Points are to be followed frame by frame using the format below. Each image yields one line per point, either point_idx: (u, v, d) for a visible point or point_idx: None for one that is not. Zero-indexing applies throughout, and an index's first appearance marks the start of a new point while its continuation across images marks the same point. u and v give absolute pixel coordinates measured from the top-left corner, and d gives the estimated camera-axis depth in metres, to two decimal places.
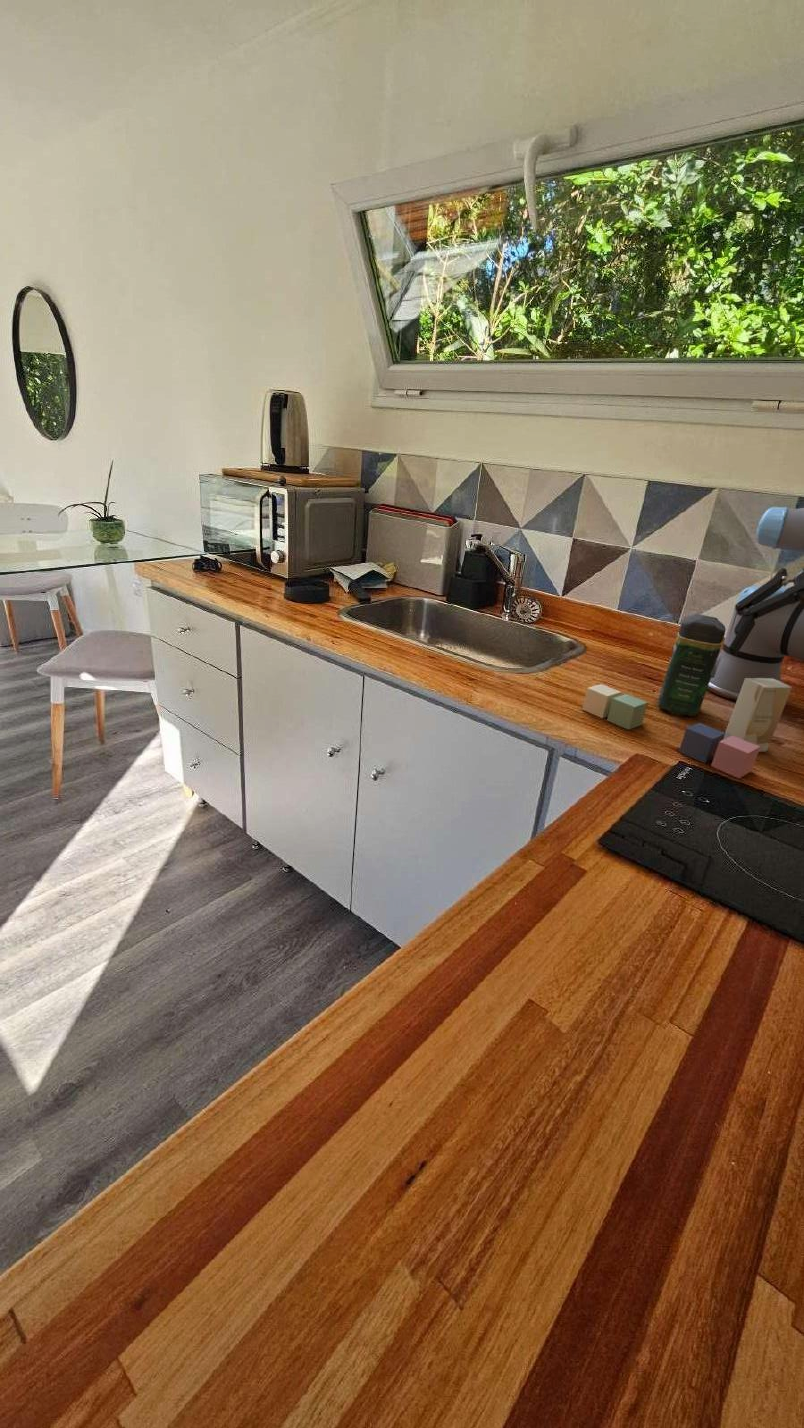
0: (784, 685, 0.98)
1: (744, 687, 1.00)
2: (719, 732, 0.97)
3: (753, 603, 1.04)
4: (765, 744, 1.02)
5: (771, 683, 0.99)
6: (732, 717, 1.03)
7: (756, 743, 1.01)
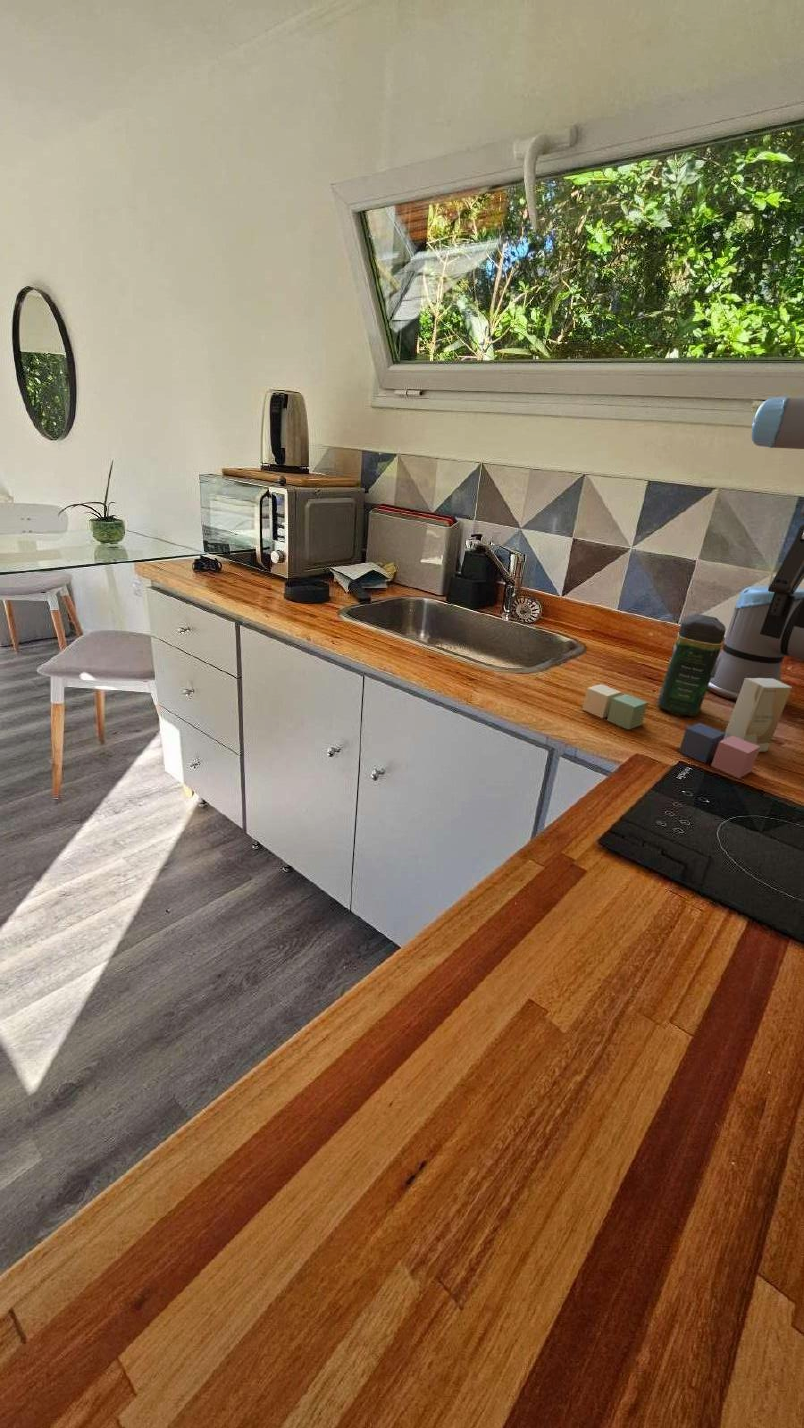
0: (784, 685, 0.98)
1: (744, 687, 1.00)
2: (719, 732, 0.97)
3: None
4: (765, 744, 1.02)
5: (771, 683, 0.99)
6: (732, 717, 1.03)
7: (756, 743, 1.01)
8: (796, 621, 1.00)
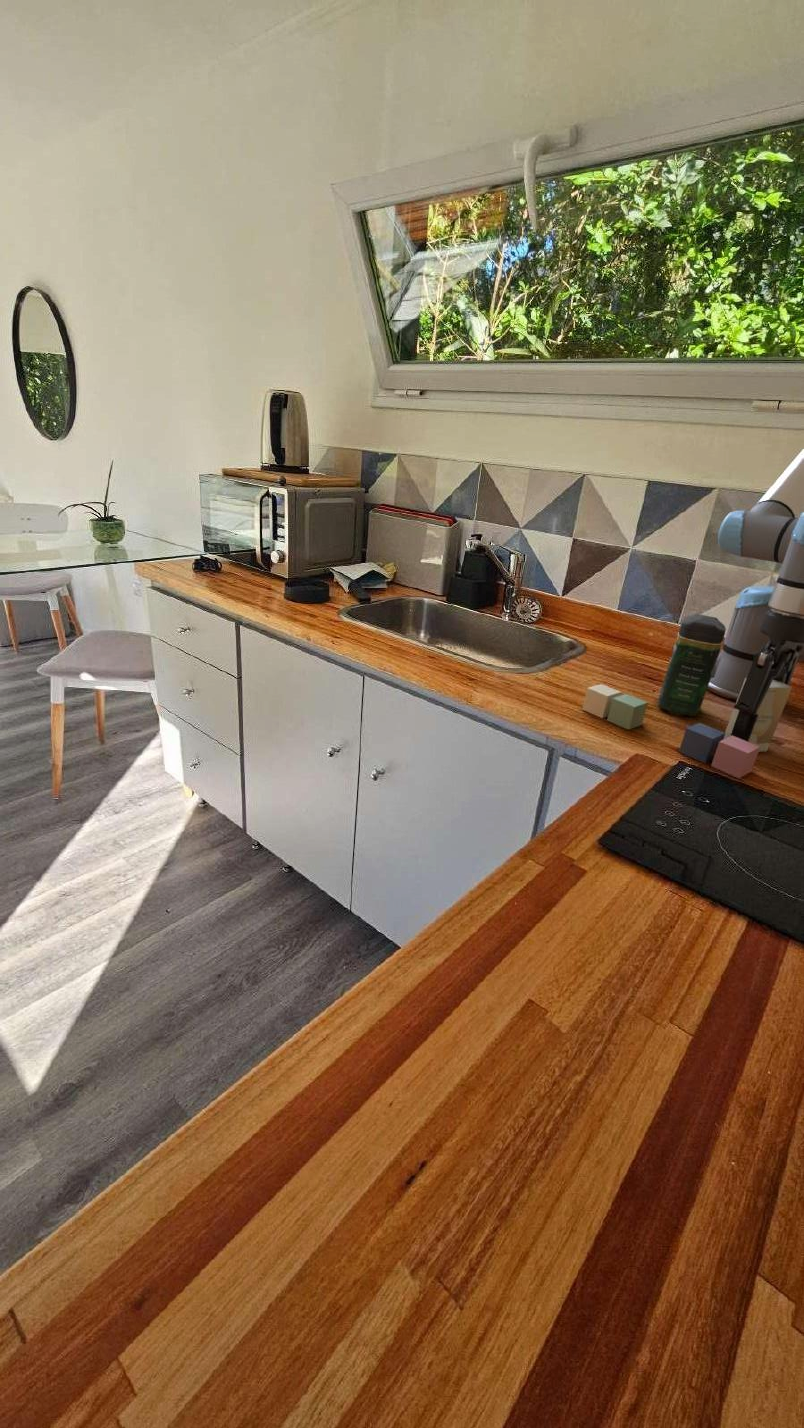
0: (784, 685, 0.98)
1: None
2: (719, 732, 0.97)
3: None
4: (765, 744, 1.02)
5: (771, 683, 0.99)
6: (732, 717, 1.03)
7: (756, 743, 1.01)
8: None
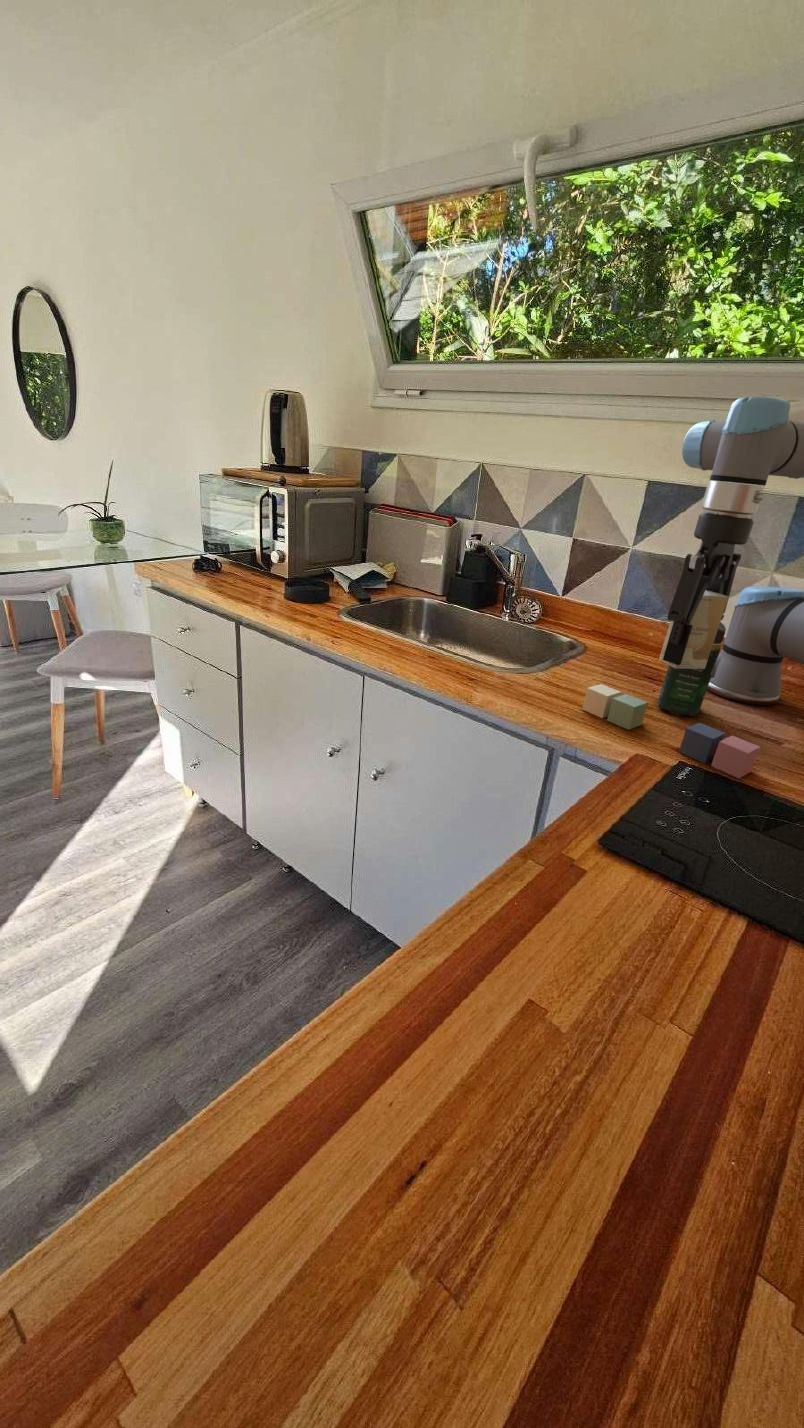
0: (720, 595, 0.93)
1: None
2: (719, 732, 0.97)
3: None
4: (702, 660, 0.97)
5: (707, 593, 0.93)
6: (668, 632, 0.97)
7: (692, 658, 0.96)
8: None
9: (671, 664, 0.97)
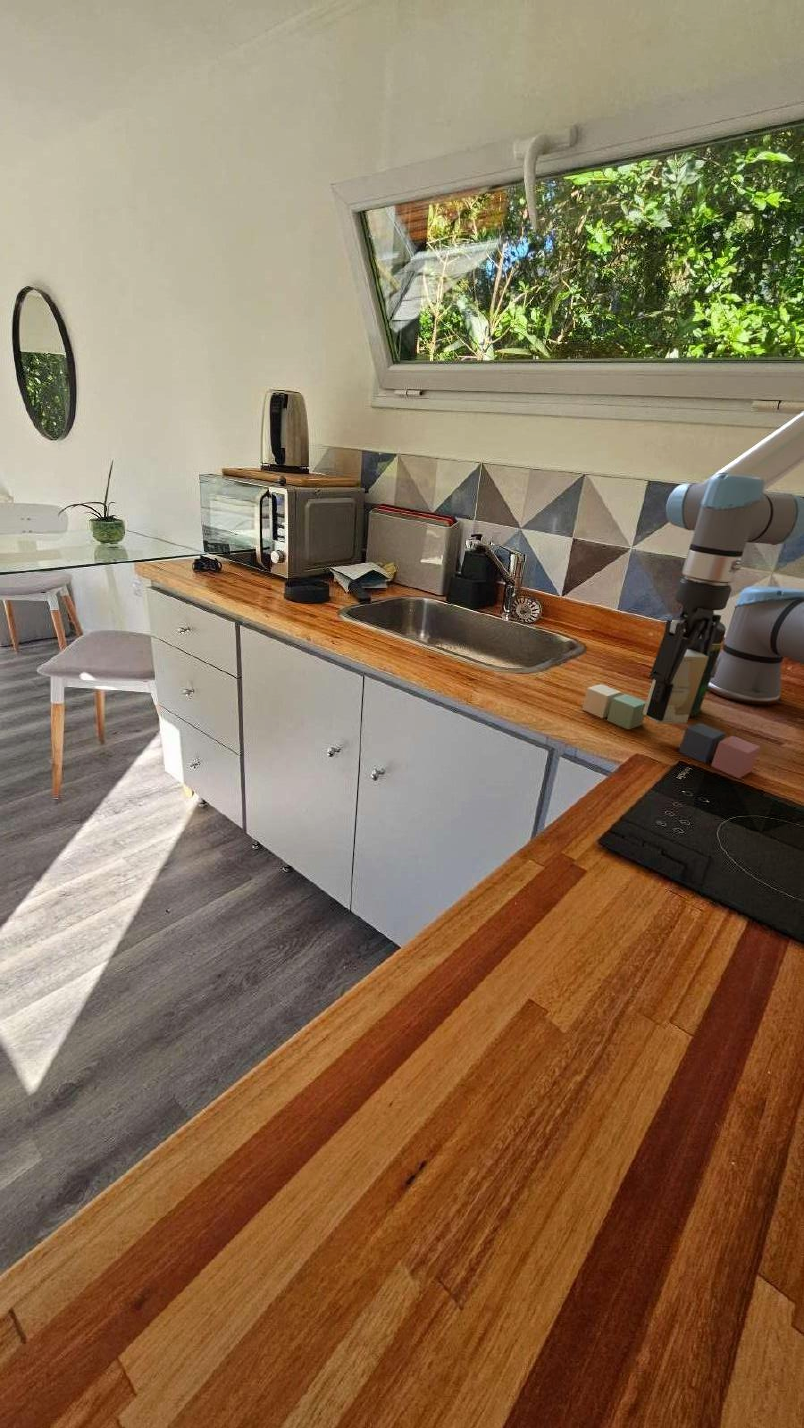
0: (700, 655, 0.97)
1: None
2: (719, 732, 0.97)
3: None
4: (684, 716, 1.01)
5: (688, 653, 0.97)
6: (651, 688, 1.01)
7: (674, 714, 1.00)
8: None
9: (654, 719, 1.01)
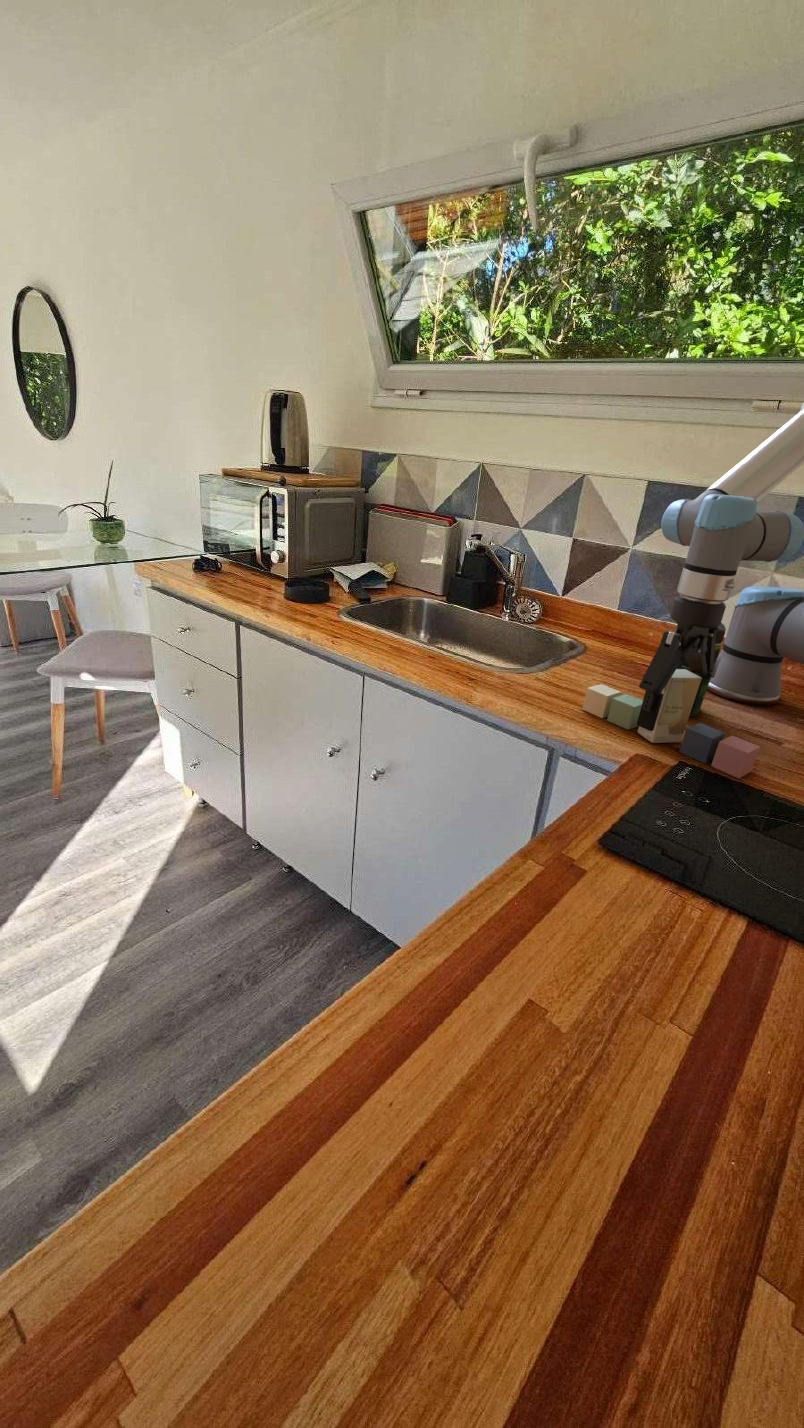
0: (694, 676, 0.99)
1: None
2: (719, 732, 0.97)
3: None
4: (678, 735, 1.02)
5: (681, 674, 0.99)
6: None
7: (668, 733, 1.02)
8: None
9: (648, 738, 1.02)
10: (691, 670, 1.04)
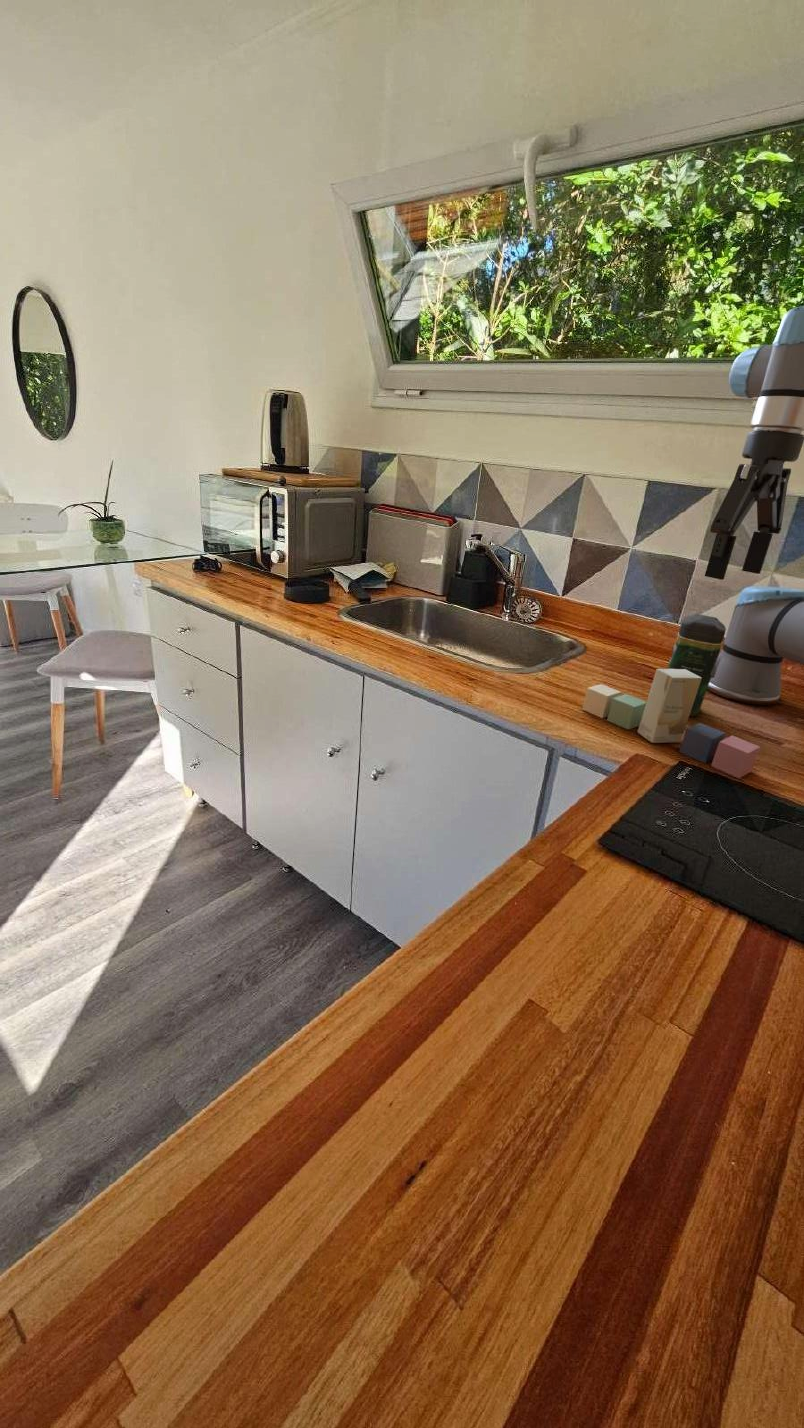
0: (694, 676, 0.99)
1: (656, 678, 1.01)
2: (719, 732, 0.97)
3: None
4: (678, 735, 1.02)
5: (681, 674, 0.99)
6: (646, 708, 1.03)
7: (668, 733, 1.02)
8: (744, 566, 1.01)
9: (648, 738, 1.02)
10: (759, 525, 0.99)
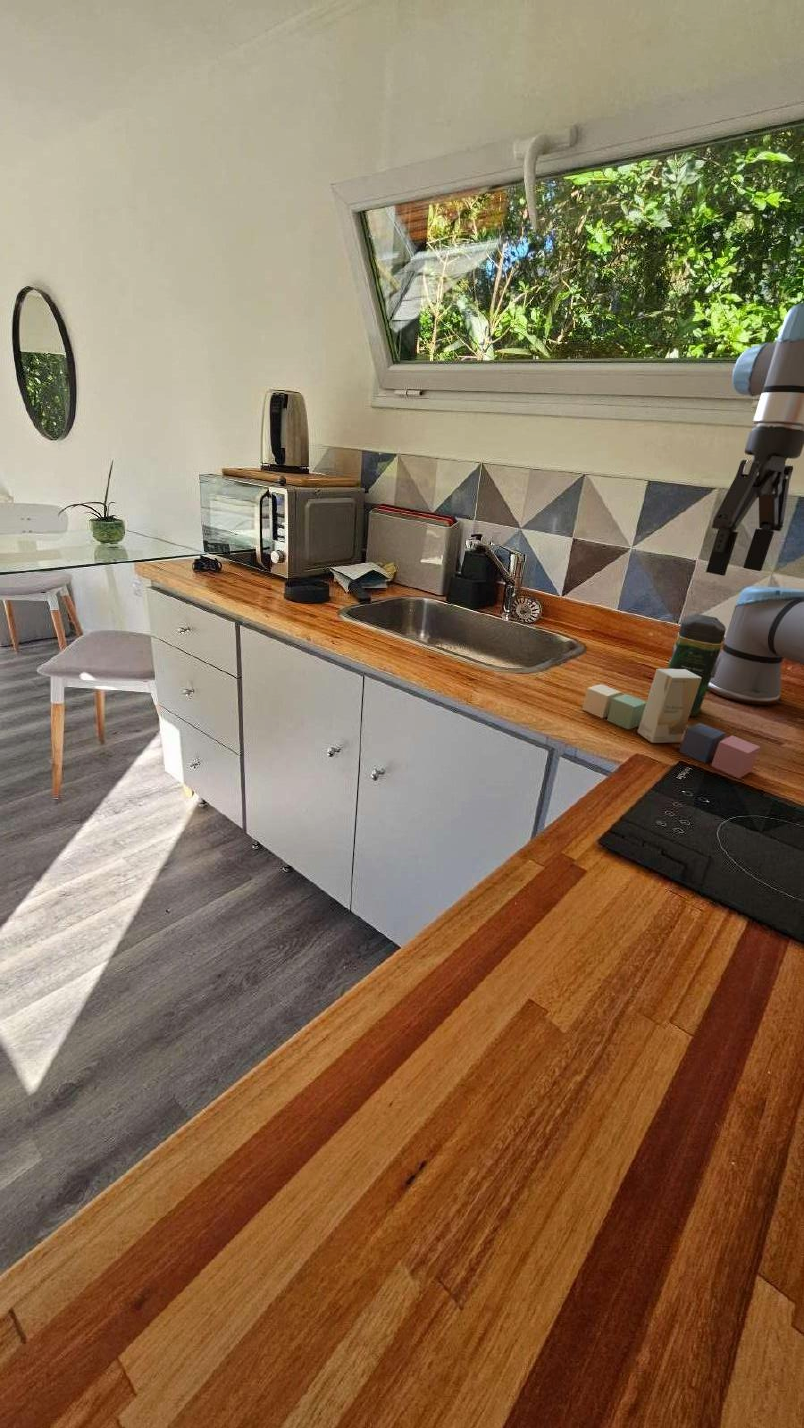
0: (694, 676, 0.99)
1: (656, 678, 1.01)
2: (719, 732, 0.97)
3: None
4: (678, 735, 1.02)
5: (681, 674, 0.99)
6: (646, 708, 1.03)
7: (668, 733, 1.02)
8: (745, 563, 1.01)
9: (648, 738, 1.02)
10: (760, 522, 0.99)
